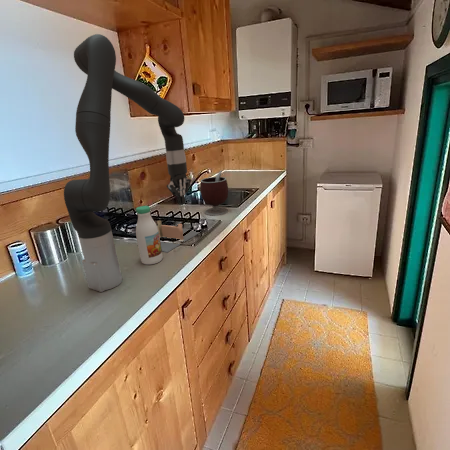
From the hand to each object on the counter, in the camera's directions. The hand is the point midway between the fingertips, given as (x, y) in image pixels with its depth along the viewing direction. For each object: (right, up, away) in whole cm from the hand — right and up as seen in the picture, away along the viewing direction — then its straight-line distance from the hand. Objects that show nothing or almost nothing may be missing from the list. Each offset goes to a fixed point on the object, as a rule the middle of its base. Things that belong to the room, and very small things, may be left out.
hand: (181, 204), depth 124 cm
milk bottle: (-8, -21, -16) cm, 28 cm away
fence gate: (-4, -14, +1) cm, 14 cm away
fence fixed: (-12, -15, 0) cm, 19 cm away
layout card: (-5, -14, +2) cm, 15 cm away
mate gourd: (+14, -2, +32) cm, 35 cm away
